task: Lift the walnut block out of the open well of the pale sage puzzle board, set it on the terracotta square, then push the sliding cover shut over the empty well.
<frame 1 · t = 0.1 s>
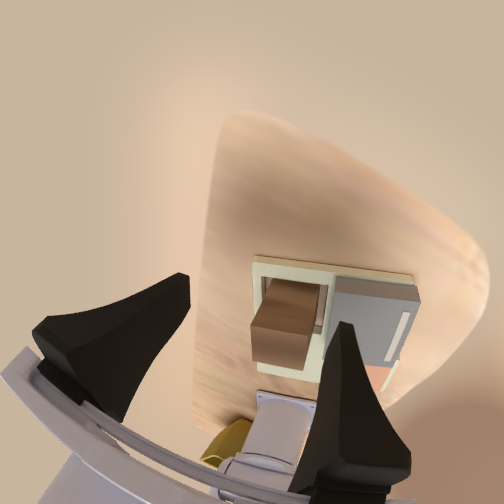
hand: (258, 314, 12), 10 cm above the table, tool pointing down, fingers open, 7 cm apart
walnut block: (295, 299, 24), resting in puzzle board
sliding cover: (368, 326, 20), point 2 cm above the table, slide at 0.0 cm
flower pot: (249, 425, 41), on the table
puzzle board: (324, 331, 25), on the table
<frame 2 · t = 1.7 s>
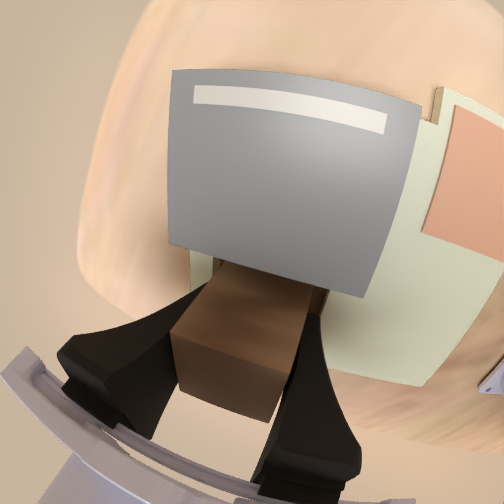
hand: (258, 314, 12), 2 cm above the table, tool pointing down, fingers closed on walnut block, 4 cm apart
walnut block: (270, 290, 14), resting in puzzle board, touching gripper
sliding cover: (281, 173, 9), point 2 cm above the table, slide at 0.0 cm
puzzle board: (350, 257, 12), on the table
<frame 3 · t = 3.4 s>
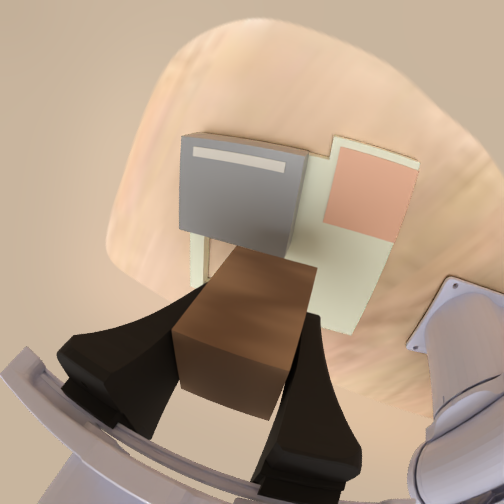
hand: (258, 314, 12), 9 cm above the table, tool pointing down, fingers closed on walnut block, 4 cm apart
walnut block: (270, 289, 14), point 7 cm above the table, touching gripper
sliding cover: (238, 191, 17), point 2 cm above the table, slide at 0.0 cm
puzzle board: (286, 238, 20), on the table
when the fingers open (4 cm above the table, at t = 5.0 s): walnut block drops 1 cm, resting on puzzle board.
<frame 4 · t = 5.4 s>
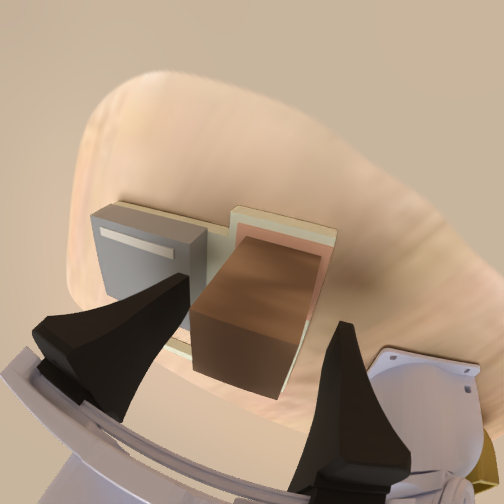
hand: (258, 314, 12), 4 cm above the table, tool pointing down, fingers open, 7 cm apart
walnut block: (276, 277, 15), point 1 cm above the table, touching puzzle board
sliding cover: (147, 266, 17), point 2 cm above the table, slide at 0.0 cm
flower pot: (451, 423, 19), on the table
puzzle board: (206, 303, 20), on the table
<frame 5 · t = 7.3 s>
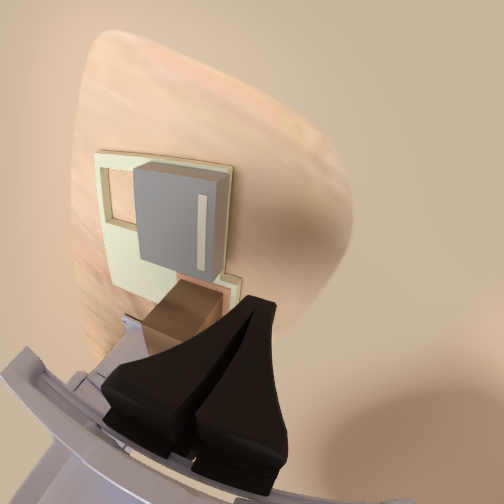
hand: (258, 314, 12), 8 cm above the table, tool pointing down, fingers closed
walnut block: (201, 303, 24), point 1 cm above the table, touching puzzle board
sliding cover: (178, 220, 19), point 2 cm above the table, slide at 0.0 cm
puzzle board: (158, 236, 24), on the table
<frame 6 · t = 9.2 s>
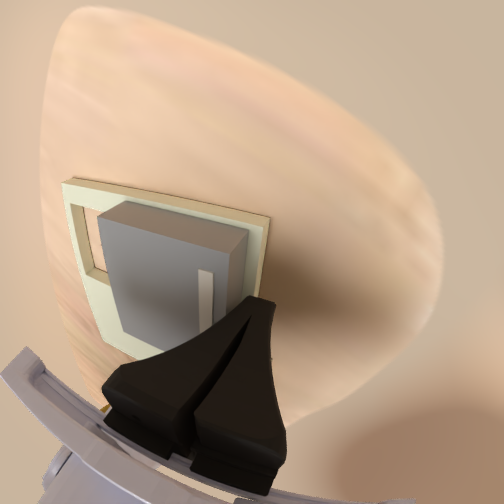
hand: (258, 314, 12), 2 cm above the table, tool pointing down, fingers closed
sliding cover: (170, 292, 13), point 2 cm above the table, slide at 0.8 cm, touching gripper
puzzle board: (156, 299, 17), on the table
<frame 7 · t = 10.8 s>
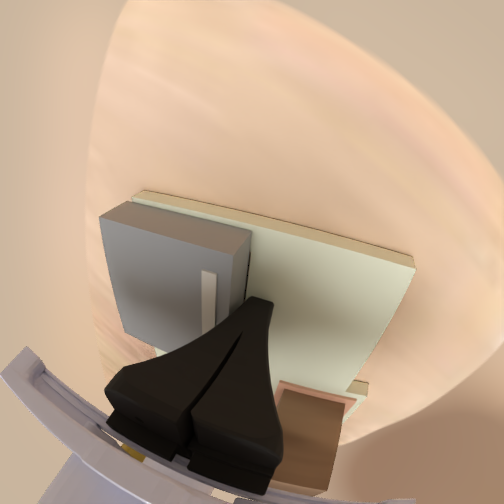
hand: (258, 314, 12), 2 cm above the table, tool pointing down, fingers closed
walnut block: (306, 410, 16), point 1 cm above the table, touching puzzle board
sliding cover: (172, 293, 13), point 2 cm above the table, slide at 7.1 cm, touching gripper
puzzle board: (249, 332, 16), on the table
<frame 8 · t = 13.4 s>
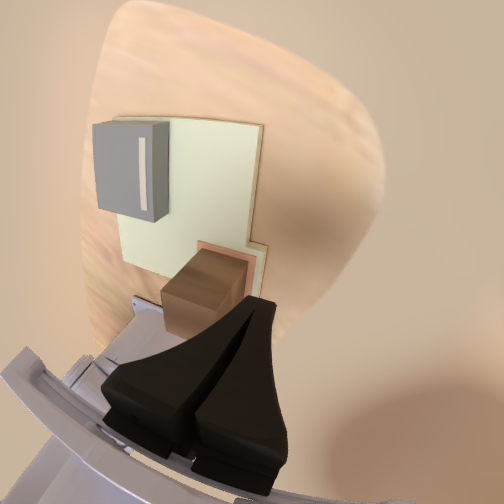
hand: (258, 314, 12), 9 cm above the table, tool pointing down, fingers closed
walnut block: (223, 274, 23), point 1 cm above the table, touching puzzle board
sliding cover: (128, 168, 20), point 2 cm above the table, slide at 7.0 cm
puzzle board: (178, 204, 22), on the table
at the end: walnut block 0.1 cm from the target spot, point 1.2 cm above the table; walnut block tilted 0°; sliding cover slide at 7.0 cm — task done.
